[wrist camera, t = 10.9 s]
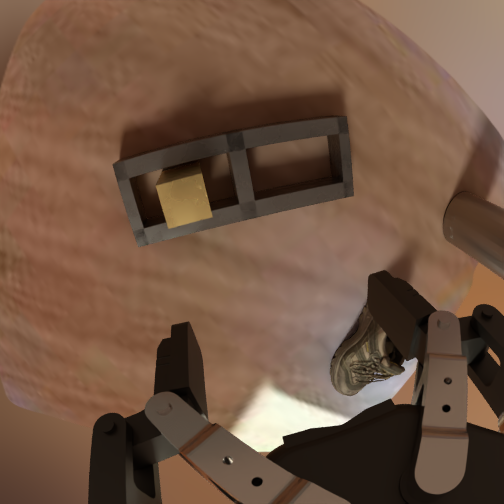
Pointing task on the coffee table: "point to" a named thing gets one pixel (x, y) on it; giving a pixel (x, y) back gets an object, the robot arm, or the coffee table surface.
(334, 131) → the dark grey rectangular tray
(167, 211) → the block
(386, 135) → the coffee table surface
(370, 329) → the hiking shoe
